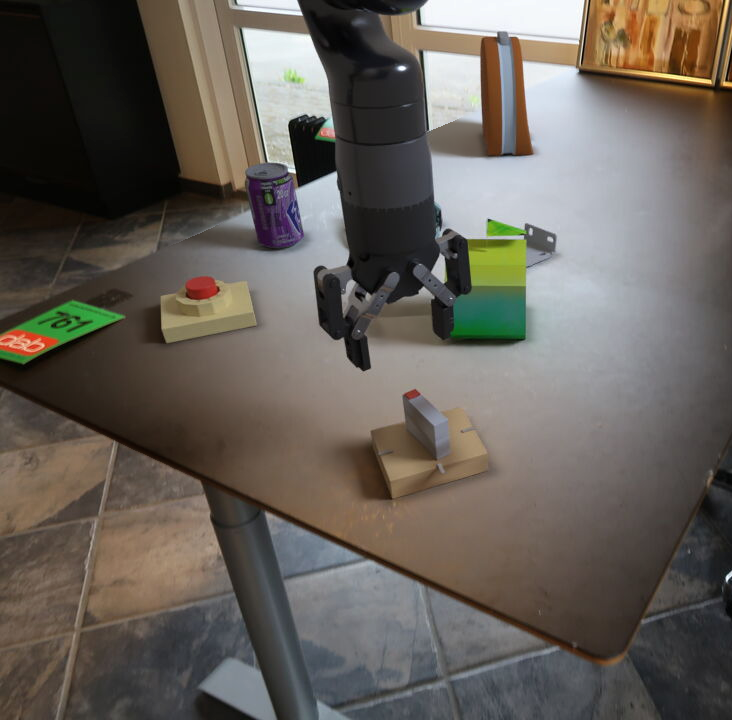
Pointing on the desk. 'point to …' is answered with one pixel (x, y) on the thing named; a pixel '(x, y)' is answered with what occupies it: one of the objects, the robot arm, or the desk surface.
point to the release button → (201, 288)
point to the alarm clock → (503, 96)
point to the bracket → (538, 244)
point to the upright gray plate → (426, 424)
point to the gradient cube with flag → (494, 287)
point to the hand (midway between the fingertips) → (403, 350)
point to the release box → (206, 312)
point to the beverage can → (273, 205)
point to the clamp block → (428, 456)
